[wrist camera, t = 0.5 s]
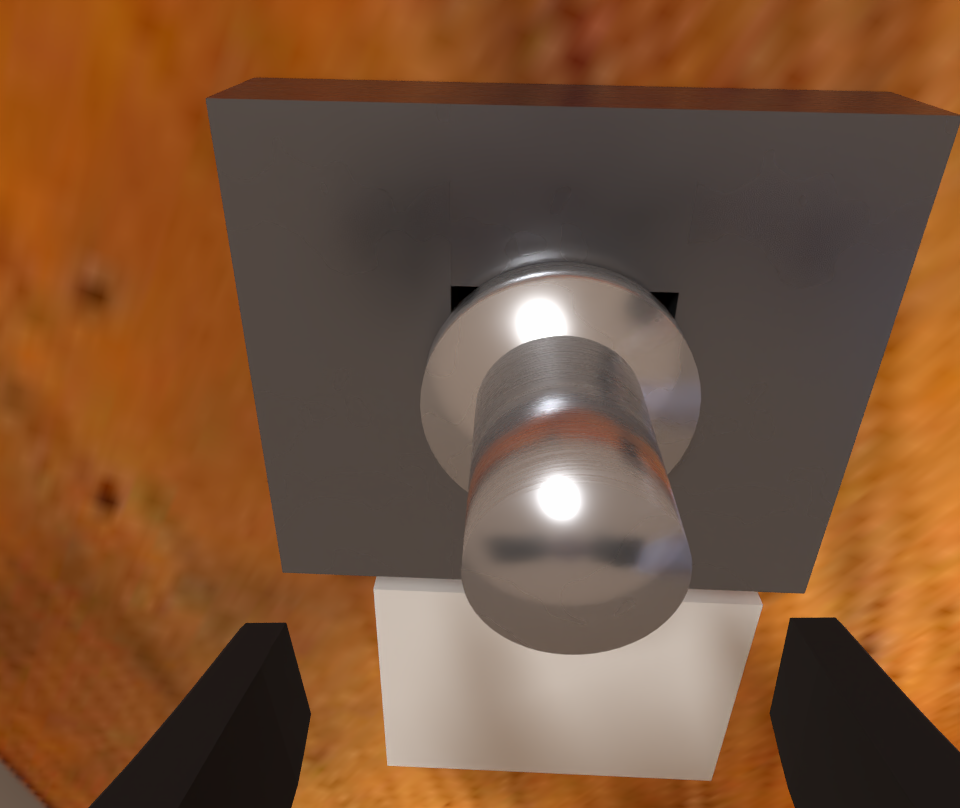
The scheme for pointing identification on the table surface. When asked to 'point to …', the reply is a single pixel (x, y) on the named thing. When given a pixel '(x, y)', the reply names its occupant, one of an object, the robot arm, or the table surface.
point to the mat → (557, 688)
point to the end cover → (565, 453)
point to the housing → (580, 239)
